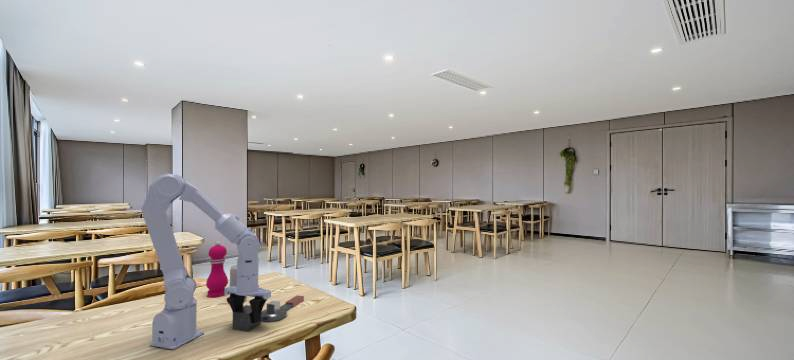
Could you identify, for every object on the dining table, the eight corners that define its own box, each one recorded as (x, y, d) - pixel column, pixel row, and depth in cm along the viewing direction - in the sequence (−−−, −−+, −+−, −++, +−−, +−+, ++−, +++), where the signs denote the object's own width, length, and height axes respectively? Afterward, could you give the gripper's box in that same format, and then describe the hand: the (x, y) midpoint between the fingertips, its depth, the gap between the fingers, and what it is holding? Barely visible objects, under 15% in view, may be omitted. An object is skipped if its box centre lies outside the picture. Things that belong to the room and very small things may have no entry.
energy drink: (249, 298, 119) (249, 265, 119) (240, 303, 113) (241, 268, 113) (235, 297, 119) (235, 264, 119) (226, 302, 114) (226, 268, 114)
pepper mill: (208, 292, 125) (209, 240, 125) (229, 290, 127) (230, 239, 127) (203, 298, 118) (204, 243, 118) (225, 296, 120) (226, 242, 120)
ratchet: (276, 323, 97) (276, 308, 97) (253, 320, 99) (253, 305, 99) (310, 301, 116) (310, 288, 116) (290, 299, 118) (290, 286, 118)
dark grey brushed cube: (248, 331, 92) (248, 313, 92) (232, 329, 93) (232, 311, 93) (261, 323, 97) (261, 306, 97) (245, 321, 98) (246, 305, 98)
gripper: (277, 272, 97) (277, 318, 97) (237, 268, 101) (236, 313, 101) (262, 279, 90) (261, 328, 90) (219, 274, 94) (218, 322, 94)
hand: (247, 320), depth 95 cm, fingers closed on dark grey brushed cube, 5 cm apart
